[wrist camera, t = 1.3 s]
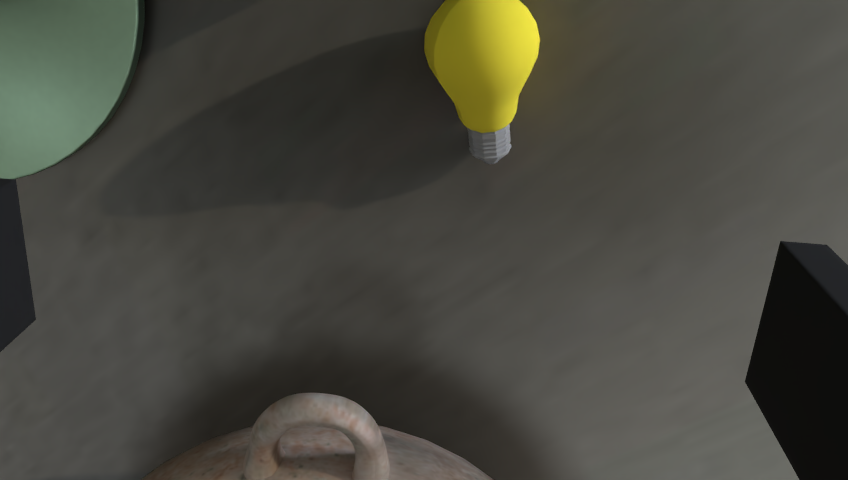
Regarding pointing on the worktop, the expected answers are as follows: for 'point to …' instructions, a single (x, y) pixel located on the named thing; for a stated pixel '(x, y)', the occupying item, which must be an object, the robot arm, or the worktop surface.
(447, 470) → the cooking pot
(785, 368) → the robot arm
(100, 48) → the tin lid
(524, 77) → the light bulb
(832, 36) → the worktop surface
